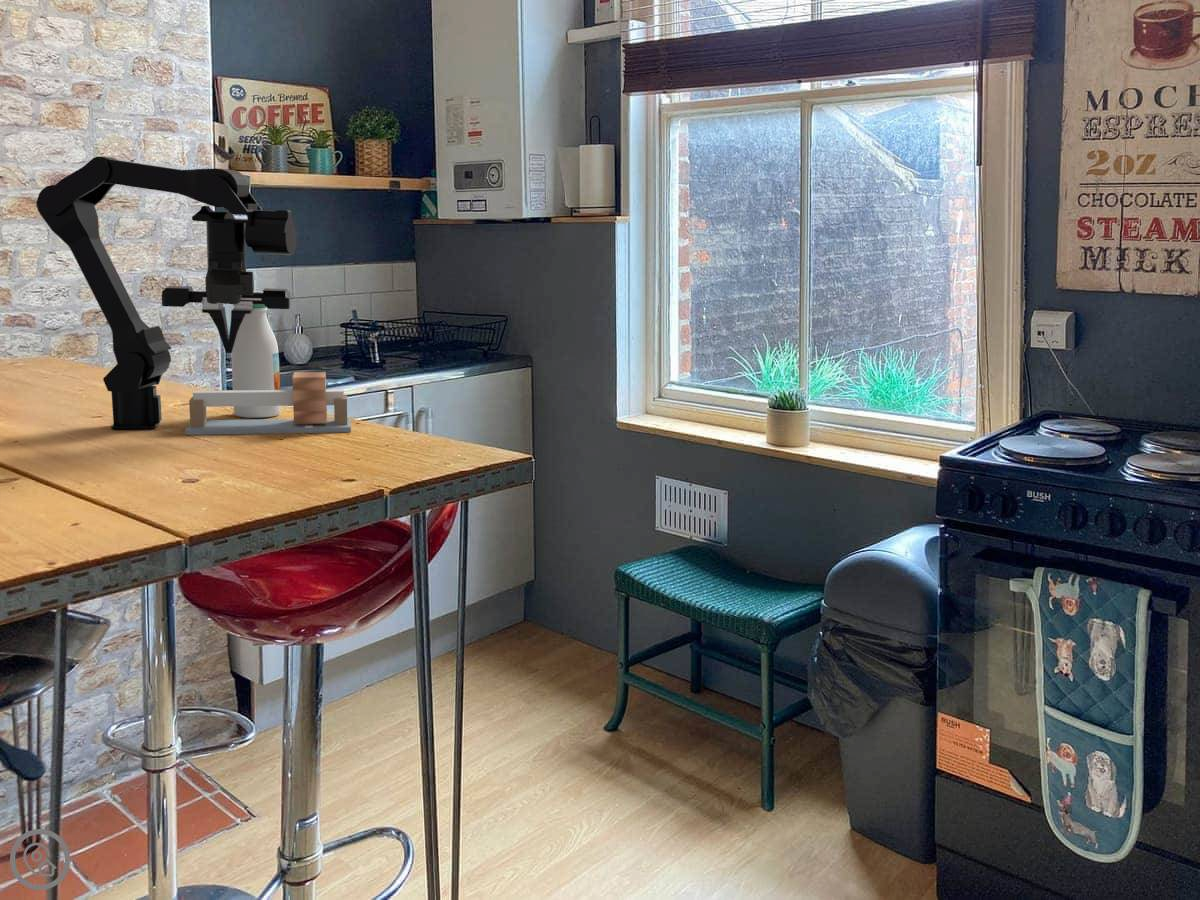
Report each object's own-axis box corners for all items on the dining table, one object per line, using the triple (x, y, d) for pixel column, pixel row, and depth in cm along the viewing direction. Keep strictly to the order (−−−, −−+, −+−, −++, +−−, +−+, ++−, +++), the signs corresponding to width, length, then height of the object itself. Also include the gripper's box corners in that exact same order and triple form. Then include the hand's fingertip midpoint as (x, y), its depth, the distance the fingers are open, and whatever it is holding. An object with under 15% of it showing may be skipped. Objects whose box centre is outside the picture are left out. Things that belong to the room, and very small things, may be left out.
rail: (185, 434, 177) (183, 395, 175) (192, 425, 184) (190, 387, 183) (350, 432, 182) (349, 393, 181) (350, 423, 190) (349, 386, 188)
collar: (293, 423, 181) (292, 377, 179) (295, 417, 186) (294, 372, 185) (326, 423, 182) (325, 377, 180) (326, 416, 187) (325, 372, 186)
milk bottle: (267, 420, 190) (263, 299, 186) (225, 417, 192) (220, 297, 188) (288, 412, 198) (285, 296, 194) (247, 410, 199) (243, 294, 195)
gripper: (154, 252, 166) (158, 358, 170) (287, 256, 171) (288, 360, 174) (165, 249, 177) (168, 349, 180) (289, 253, 181) (291, 351, 184)
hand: (229, 352), depth 179 cm, fingers closed
